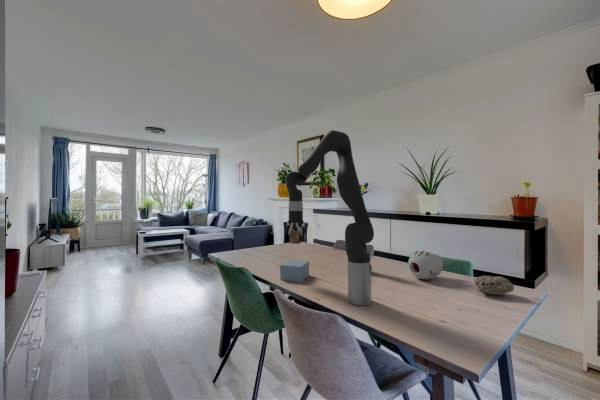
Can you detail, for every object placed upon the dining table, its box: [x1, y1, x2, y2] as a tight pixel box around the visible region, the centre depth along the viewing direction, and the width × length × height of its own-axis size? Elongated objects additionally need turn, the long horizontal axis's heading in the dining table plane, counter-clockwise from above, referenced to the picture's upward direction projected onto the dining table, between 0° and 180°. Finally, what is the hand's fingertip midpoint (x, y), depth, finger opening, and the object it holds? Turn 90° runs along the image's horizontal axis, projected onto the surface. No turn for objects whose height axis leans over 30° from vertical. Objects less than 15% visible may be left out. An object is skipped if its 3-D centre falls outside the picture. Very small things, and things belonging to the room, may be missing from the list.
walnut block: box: [289, 230, 302, 245], centre depth 144 cm, size 5×5×6 cm
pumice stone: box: [473, 275, 515, 296], centre depth 119 cm, size 14×12×8 cm
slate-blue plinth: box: [279, 259, 310, 283], centre depth 148 cm, size 12×12×8 cm
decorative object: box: [408, 250, 445, 280], centre depth 143 cm, size 16×19×15 cm
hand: (295, 241), depth 145 cm, fingers closed on walnut block, 5 cm apart
